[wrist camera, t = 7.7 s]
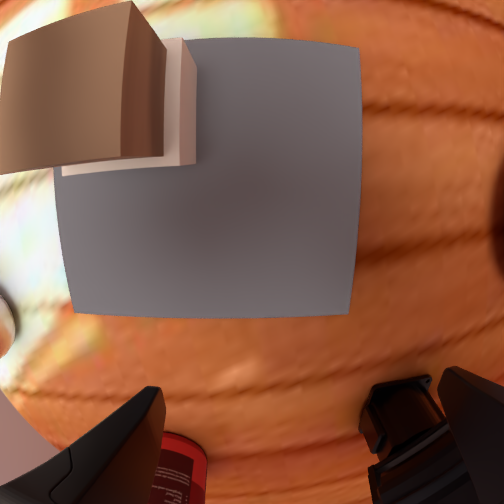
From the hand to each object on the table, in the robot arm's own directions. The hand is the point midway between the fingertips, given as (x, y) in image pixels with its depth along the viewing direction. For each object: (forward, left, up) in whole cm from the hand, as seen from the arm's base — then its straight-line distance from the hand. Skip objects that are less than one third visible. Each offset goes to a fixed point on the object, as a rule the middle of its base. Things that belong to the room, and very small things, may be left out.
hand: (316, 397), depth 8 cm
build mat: (+5, -5, -12) cm, 14 cm away
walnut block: (+8, -9, -7) cm, 14 cm away
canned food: (+10, +21, -13) cm, 26 cm away
